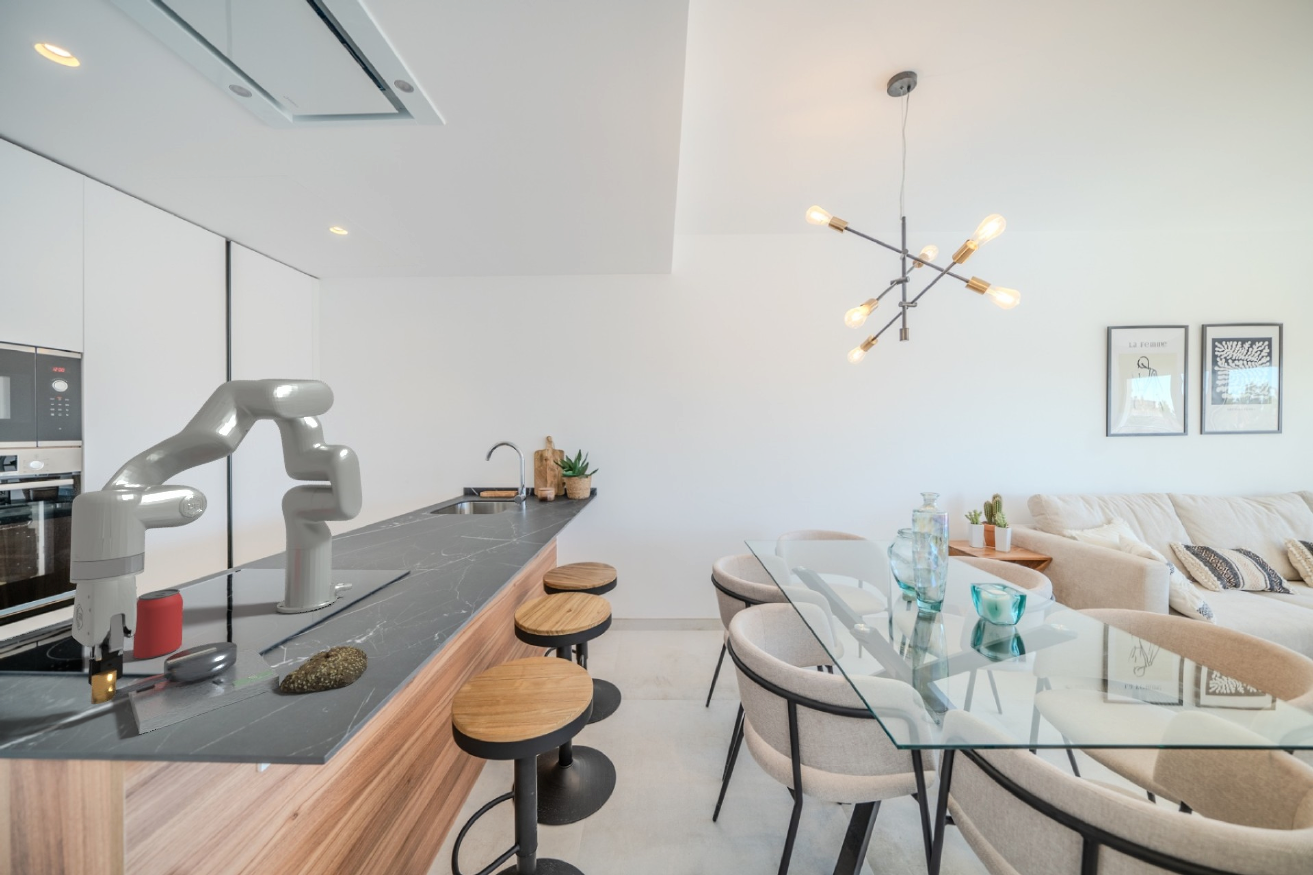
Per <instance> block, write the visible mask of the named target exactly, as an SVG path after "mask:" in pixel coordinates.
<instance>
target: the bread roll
mask: <svg viewBox="0 0 1313 875" xmlns="http://www.w3.org/2000/svg"><path fill="white" fill-rule="evenodd" d="M368 659H369V658H368V657H367V653H365V651H364V650H362V648H359V647H354V646H347V645H344V646H343V645H342V646H337V647H332V648H330V649H329V650H328V651H324V650H322V651H321V652H318V653H316V654H315V655H313V656H312V657H310V659H308V660H306V662H303V663H302V664H301V665H300V666H299V667H298V668H297V669H294V670H293V671H292V672H289V673H288V674H287V675H286V676H284V678H283V680H282V681H281V682H280V684H279V689H280V691H281V692H285V693H309V692H318V691H319V692H320V691H325V690H330V689H337V688H344V687H346V686H349V685H350V684H353V683H354V682H355V681H357V680H358V679H359V678H361V677H362V675H363V674H364V672H365V671H366V670H367V667H368Z"/></svg>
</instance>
